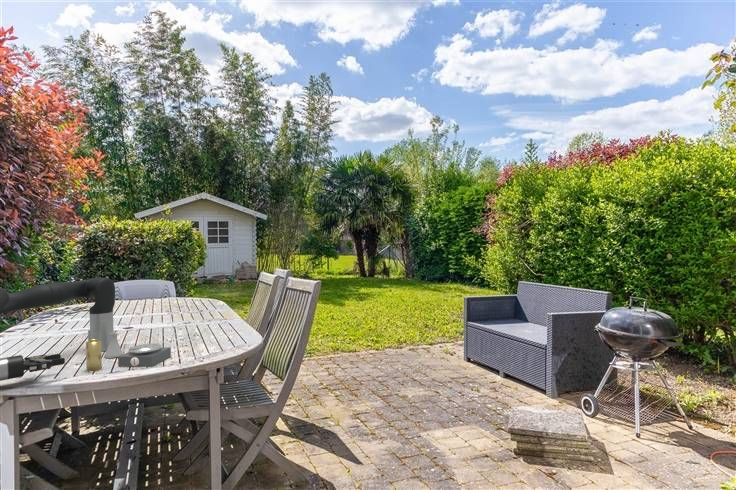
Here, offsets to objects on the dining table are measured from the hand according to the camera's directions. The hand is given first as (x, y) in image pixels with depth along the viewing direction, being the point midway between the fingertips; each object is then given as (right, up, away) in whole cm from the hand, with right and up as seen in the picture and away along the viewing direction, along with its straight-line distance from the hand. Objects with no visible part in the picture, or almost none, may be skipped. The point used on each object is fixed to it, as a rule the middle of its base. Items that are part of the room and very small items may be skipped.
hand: (62, 358), depth 159 cm
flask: (+3, -6, +26) cm, 27 cm away
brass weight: (+7, -6, +7) cm, 12 cm away
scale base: (+22, -6, +17) cm, 28 cm away
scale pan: (+22, -1, +17) cm, 28 cm away
